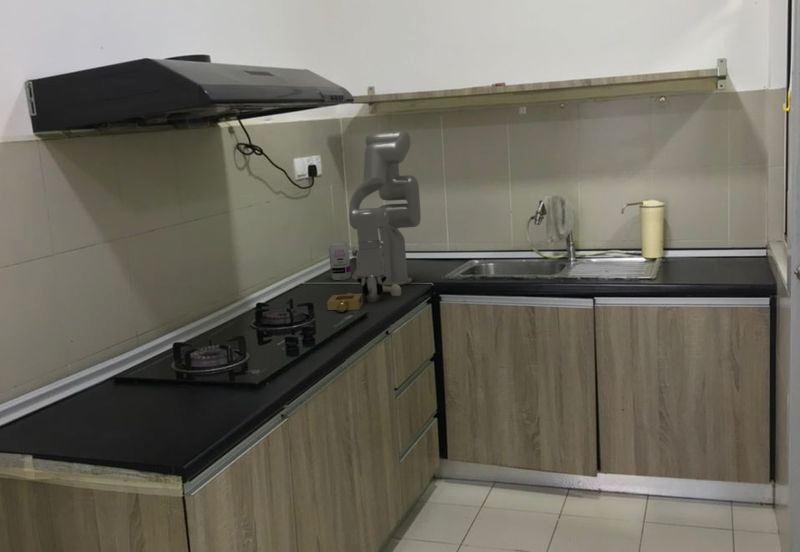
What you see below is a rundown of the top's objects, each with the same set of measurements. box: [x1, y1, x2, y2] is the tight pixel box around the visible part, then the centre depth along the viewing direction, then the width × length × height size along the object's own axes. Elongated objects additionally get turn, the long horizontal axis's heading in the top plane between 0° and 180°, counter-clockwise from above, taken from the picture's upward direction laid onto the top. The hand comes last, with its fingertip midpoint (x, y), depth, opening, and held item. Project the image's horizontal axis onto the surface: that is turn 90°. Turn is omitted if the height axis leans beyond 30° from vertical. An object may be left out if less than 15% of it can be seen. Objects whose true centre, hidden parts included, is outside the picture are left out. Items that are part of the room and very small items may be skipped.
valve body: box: [326, 292, 364, 312], centre depth 302 cm, size 19×11×4 cm, turn 175°
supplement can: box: [328, 242, 352, 281], centre depth 359 cm, size 8×8×15 cm
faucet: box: [382, 273, 402, 297], centre depth 322 cm, size 4×18×10 cm, turn 42°
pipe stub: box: [366, 275, 381, 303], centre depth 309 cm, size 4×4×10 cm
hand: (373, 294), depth 309 cm, fingers closed on pipe stub, 4 cm apart
